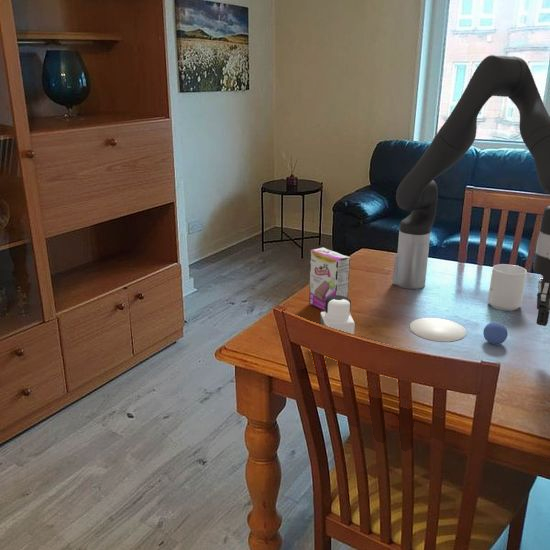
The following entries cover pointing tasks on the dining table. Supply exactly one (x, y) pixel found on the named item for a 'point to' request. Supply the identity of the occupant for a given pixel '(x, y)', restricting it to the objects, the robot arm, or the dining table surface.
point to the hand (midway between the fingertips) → (541, 324)
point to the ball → (495, 333)
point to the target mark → (437, 329)
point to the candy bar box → (327, 276)
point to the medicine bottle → (338, 314)
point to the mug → (507, 287)
